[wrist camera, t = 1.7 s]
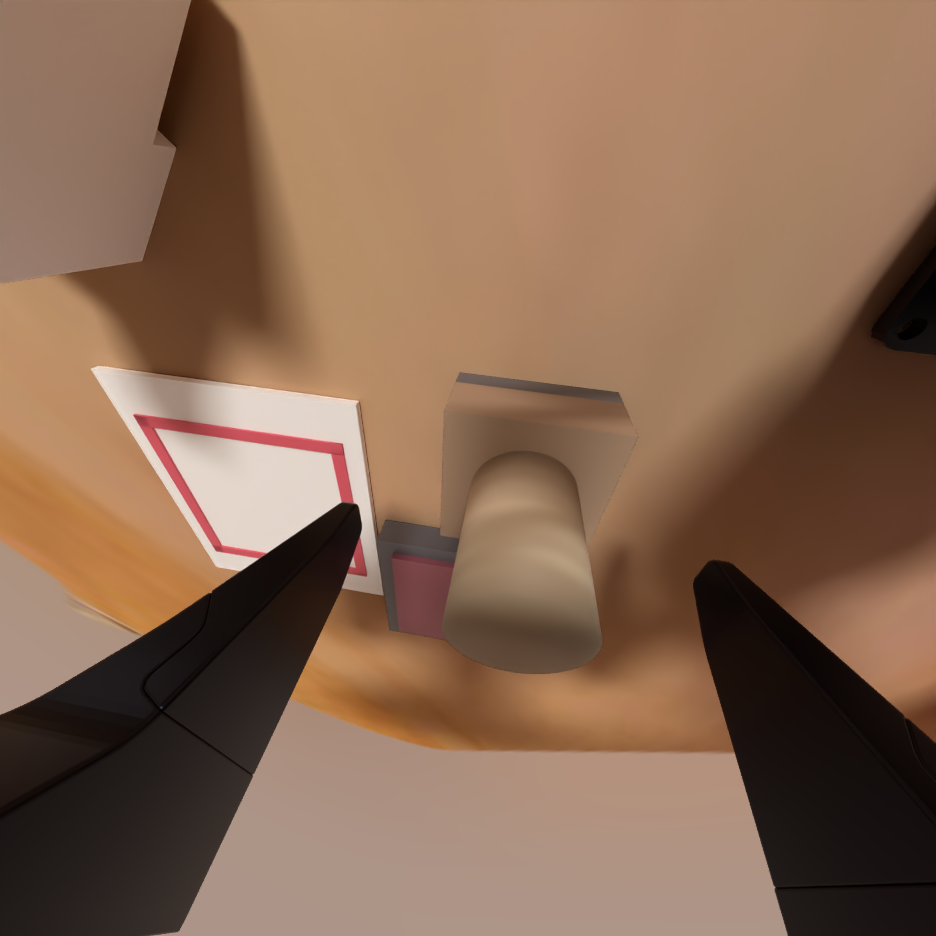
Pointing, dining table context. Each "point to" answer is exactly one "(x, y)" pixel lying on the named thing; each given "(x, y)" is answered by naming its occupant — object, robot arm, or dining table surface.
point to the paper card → (251, 462)
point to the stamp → (527, 517)
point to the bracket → (82, 130)
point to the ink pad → (416, 576)
